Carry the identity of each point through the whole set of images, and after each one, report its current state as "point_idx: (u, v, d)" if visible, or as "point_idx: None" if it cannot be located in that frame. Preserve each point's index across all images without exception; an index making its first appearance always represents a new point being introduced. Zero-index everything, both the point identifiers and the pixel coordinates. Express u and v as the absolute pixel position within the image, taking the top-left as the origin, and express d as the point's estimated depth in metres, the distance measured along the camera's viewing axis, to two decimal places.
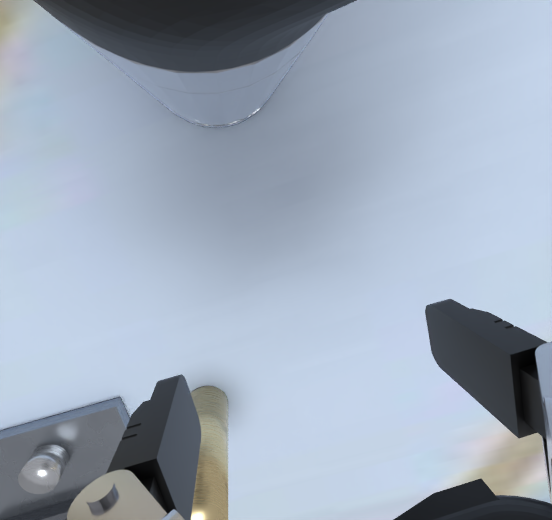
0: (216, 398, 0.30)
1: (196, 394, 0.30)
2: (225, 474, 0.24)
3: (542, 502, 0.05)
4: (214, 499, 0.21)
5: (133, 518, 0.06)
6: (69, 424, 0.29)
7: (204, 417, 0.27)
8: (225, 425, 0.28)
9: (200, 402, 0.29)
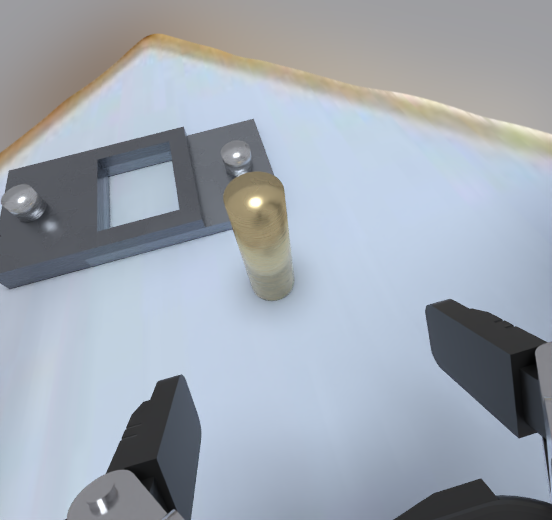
0: (290, 282, 0.29)
1: None
2: (270, 244, 0.23)
3: (542, 502, 0.05)
4: (279, 212, 0.21)
5: (133, 518, 0.06)
6: None
7: None
8: (277, 277, 0.26)
9: None
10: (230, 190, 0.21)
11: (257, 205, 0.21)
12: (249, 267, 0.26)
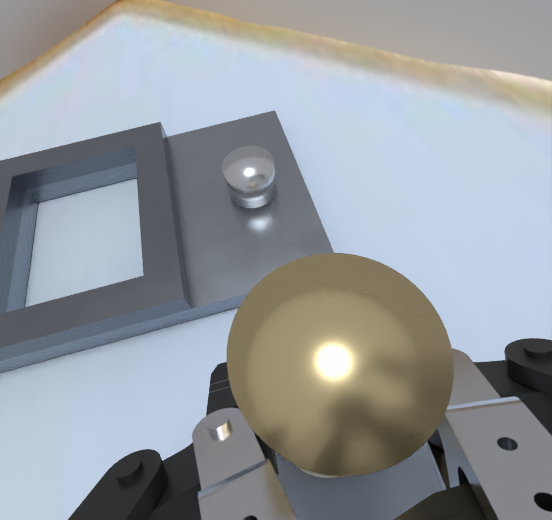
0: None
1: None
2: None
3: (467, 517, 0.05)
4: None
5: (257, 439, 0.07)
6: (308, 211, 0.20)
7: None
8: None
9: None
10: (252, 326, 0.06)
11: (358, 403, 0.05)
12: None
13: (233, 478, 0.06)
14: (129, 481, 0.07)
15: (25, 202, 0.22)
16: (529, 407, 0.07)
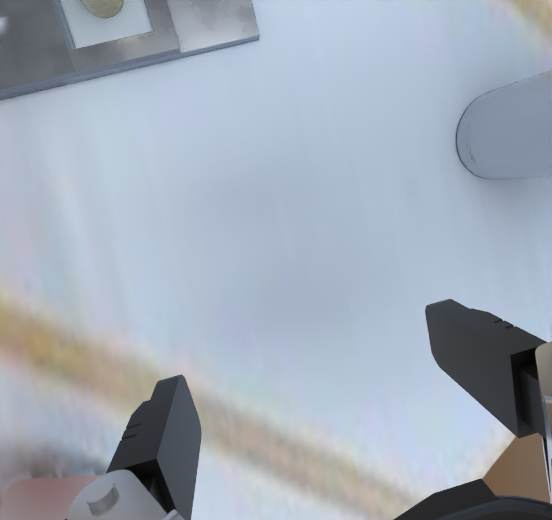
0: (116, 0, 0.32)
1: None
2: None
3: (542, 502, 0.05)
4: None
5: (133, 518, 0.06)
6: None
7: None
8: None
9: None
10: None
11: None
12: None
13: None
14: None
15: None
16: None
